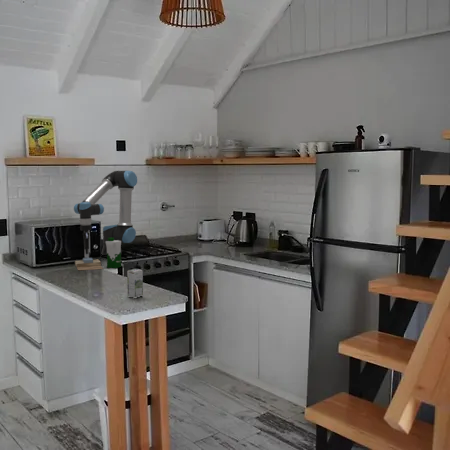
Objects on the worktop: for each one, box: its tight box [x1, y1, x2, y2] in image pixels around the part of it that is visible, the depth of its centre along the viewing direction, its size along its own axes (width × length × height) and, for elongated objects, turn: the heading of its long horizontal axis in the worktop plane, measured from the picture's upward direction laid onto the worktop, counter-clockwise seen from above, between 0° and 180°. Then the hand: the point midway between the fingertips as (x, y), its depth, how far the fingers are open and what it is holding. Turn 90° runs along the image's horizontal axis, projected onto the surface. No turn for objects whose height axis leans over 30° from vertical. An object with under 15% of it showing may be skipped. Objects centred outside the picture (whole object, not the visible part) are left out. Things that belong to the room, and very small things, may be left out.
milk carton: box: [106, 238, 122, 269], centre depth 367 cm, size 9×9×20 cm
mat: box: [76, 265, 104, 272], centre depth 364 cm, size 10×16×1 cm, turn 110°
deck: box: [74, 258, 102, 268], centre depth 374 cm, size 12×16×3 cm
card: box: [82, 257, 94, 263], centre depth 373 cm, size 9×6×2 cm, turn 20°
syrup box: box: [126, 268, 144, 297], centre depth 283 cm, size 6×6×14 cm
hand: (86, 258), depth 377 cm, fingers closed
